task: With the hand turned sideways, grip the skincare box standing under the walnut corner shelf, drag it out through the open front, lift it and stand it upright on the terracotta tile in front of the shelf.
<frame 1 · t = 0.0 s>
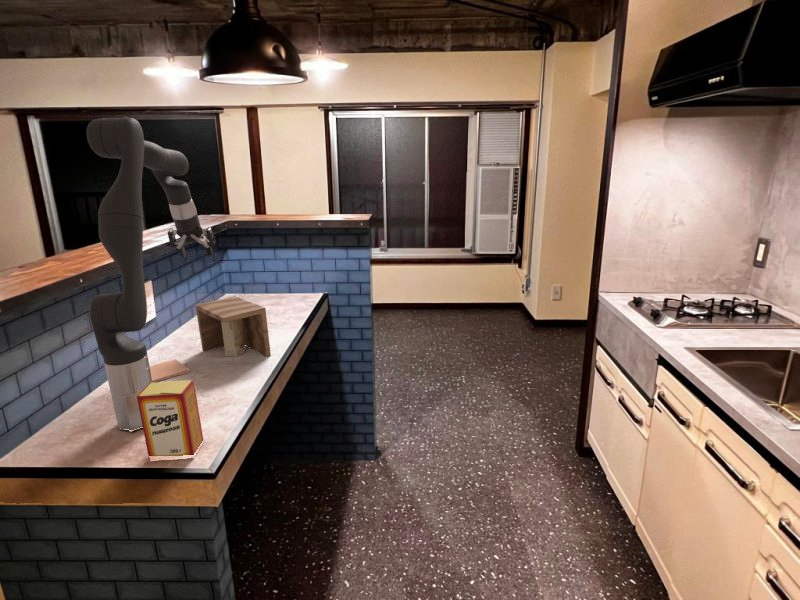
hand: (197, 256, 170), 31 cm above the counter, tool tilted 20°, fingers open, 8 cm apart
walnut shelf: (235, 353, 167), on the counter
baking soda box: (177, 452, 111), on the counter
skincare box: (236, 353, 167), on the counter
terracotta tile: (163, 372, 154), on the counter
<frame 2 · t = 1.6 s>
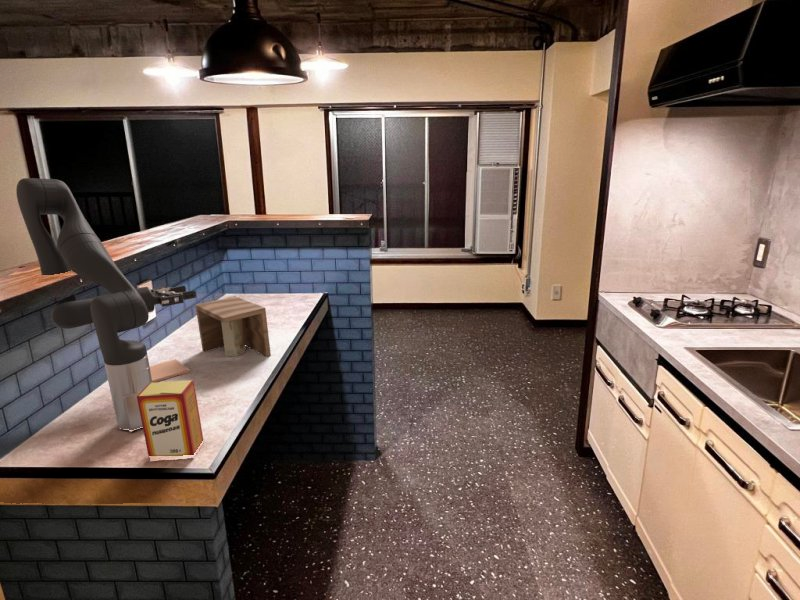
hand: (190, 291, 153), 24 cm above the counter, tool horizontal, fingers open, 8 cm apart
nothing on the counter moved.
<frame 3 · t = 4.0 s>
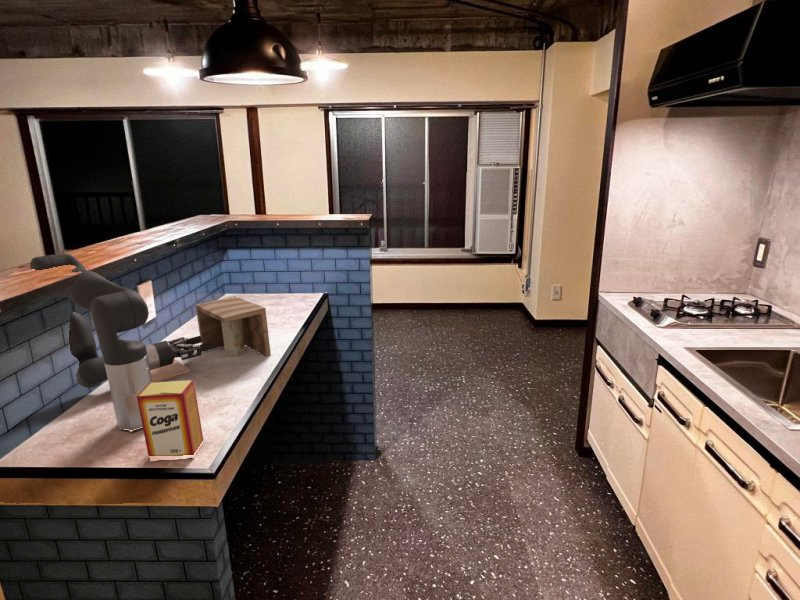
hand: (206, 342, 160), 7 cm above the counter, tool horizontal, fingers open, 8 cm apart
nothing on the counter moved.
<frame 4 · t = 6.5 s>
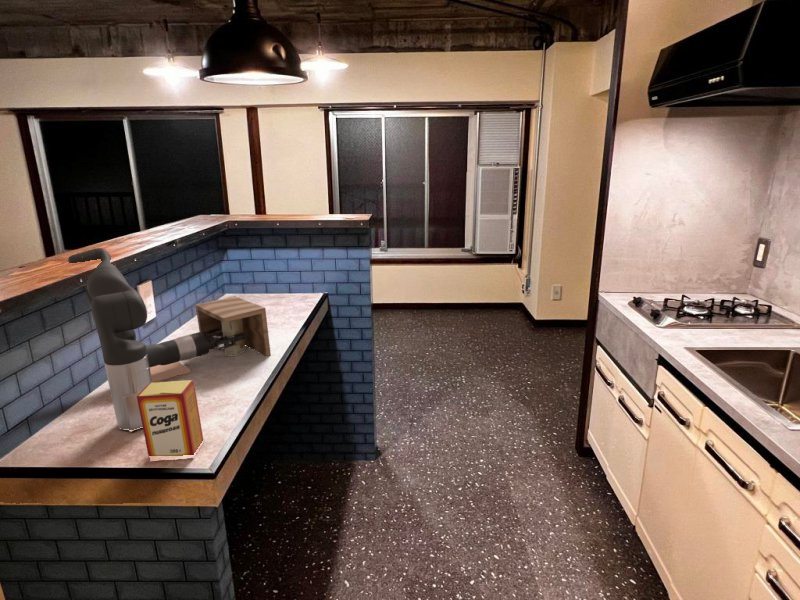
hand: (239, 333, 167), 7 cm above the counter, tool horizontal, fingers closed on skincare box, 7 cm apart
skincare box: (236, 353, 167), on the counter, touching gripper
everything else where it was.
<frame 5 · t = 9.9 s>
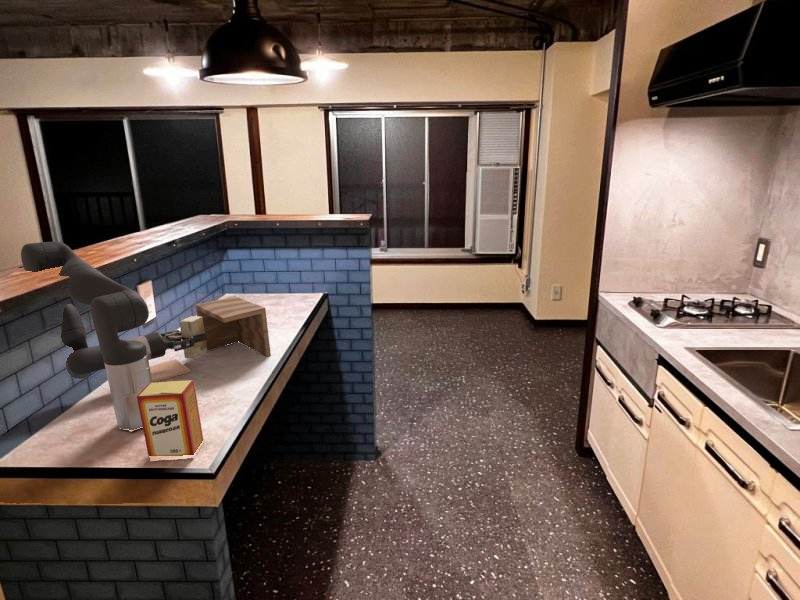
hand: (200, 334, 158), 10 cm above the counter, tool horizontal, fingers closed on skincare box, 7 cm apart
skincare box: (196, 356, 158), point 3 cm above the counter, touching gripper
everything else where it was.
when the fingers open (8 cm above the counter, at t = 13.7 s): skincare box drops 1 cm, resting on terracotta tile.
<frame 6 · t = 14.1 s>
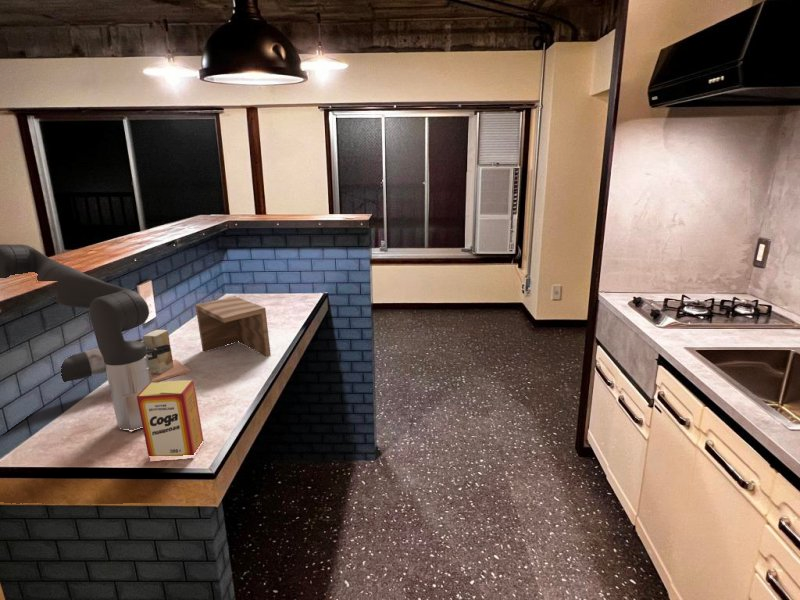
hand: (164, 344, 153), 9 cm above the counter, tool horizontal, fingers open, 8 cm apart
skincare box: (162, 370, 154), point 1 cm above the counter, touching terracotta tile
everything else where it was.
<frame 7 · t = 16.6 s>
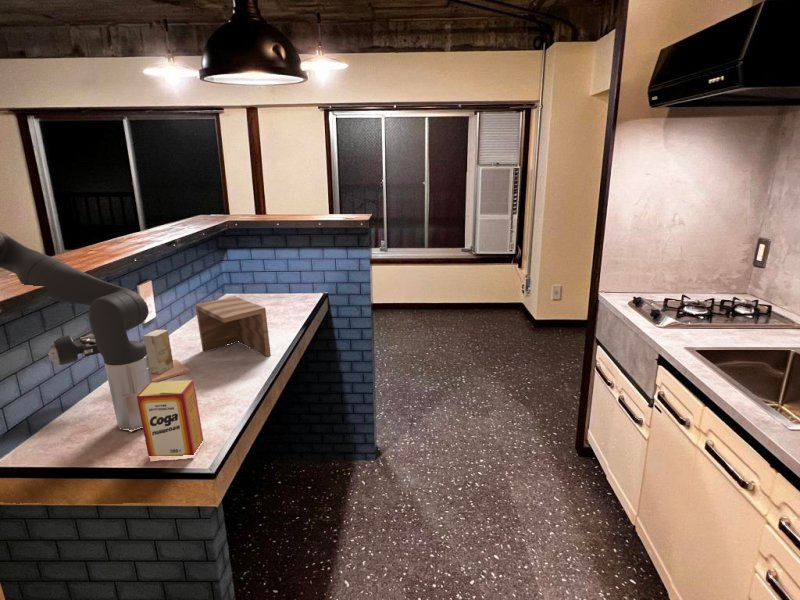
hand: (120, 336, 143), 15 cm above the counter, tool horizontal, fingers open, 8 cm apart
nothing on the counter moved.
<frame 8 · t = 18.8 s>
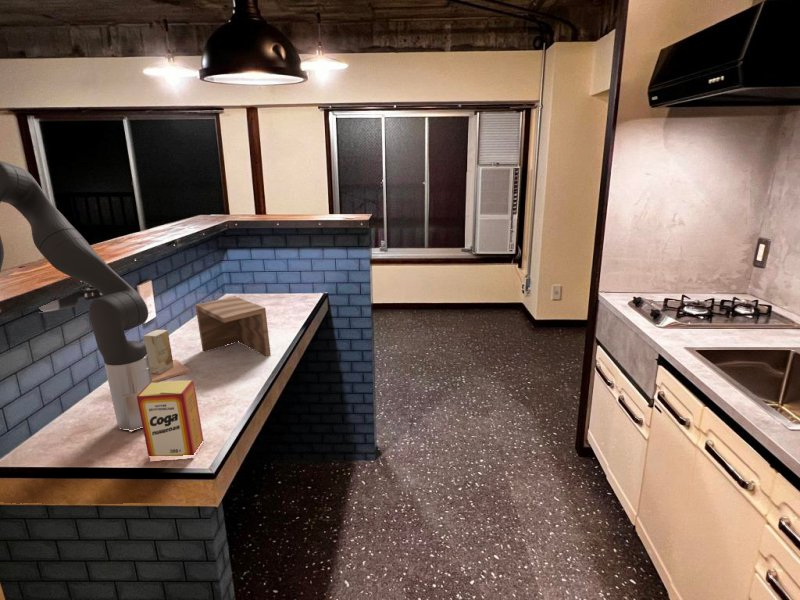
hand: (121, 283, 140), 30 cm above the counter, tool horizontal, fingers open, 8 cm apart
nothing on the counter moved.
at the end: skincare box inside the target area on the terracotta tile (0.2 cm from its centre), point 0.6 cm above the terracotta tile's base; skincare box tilted 0°; the gripper is holding nothing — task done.
